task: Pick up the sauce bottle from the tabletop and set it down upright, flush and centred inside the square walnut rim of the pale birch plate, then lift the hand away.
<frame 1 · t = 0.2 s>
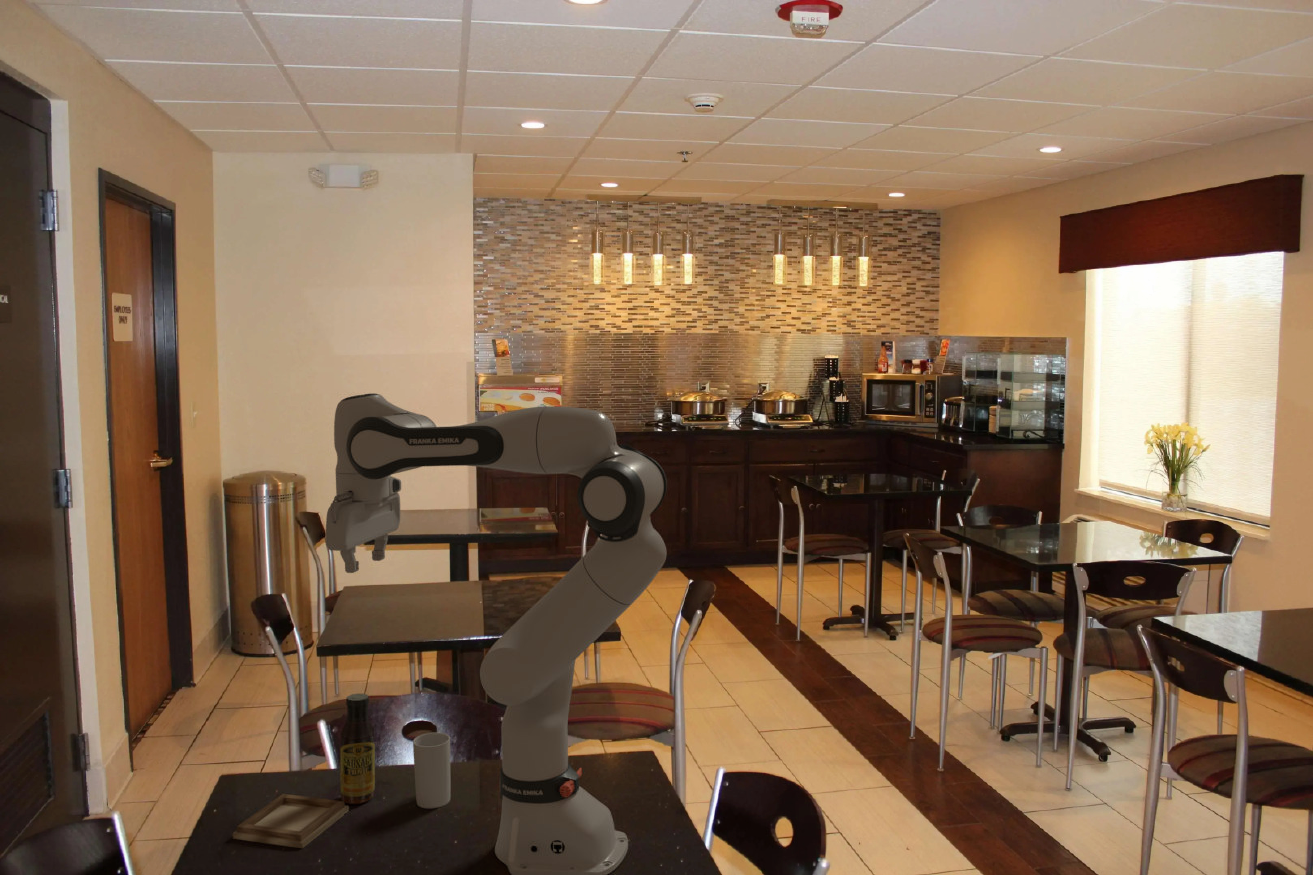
hand: (365, 565, 173), 47 cm above the table, tool pointing down, fingers open, 8 cm apart
mug: (435, 798, 188), on the table
seat plate: (292, 824, 178), on the table
sauce bottle: (359, 799, 188), on the table
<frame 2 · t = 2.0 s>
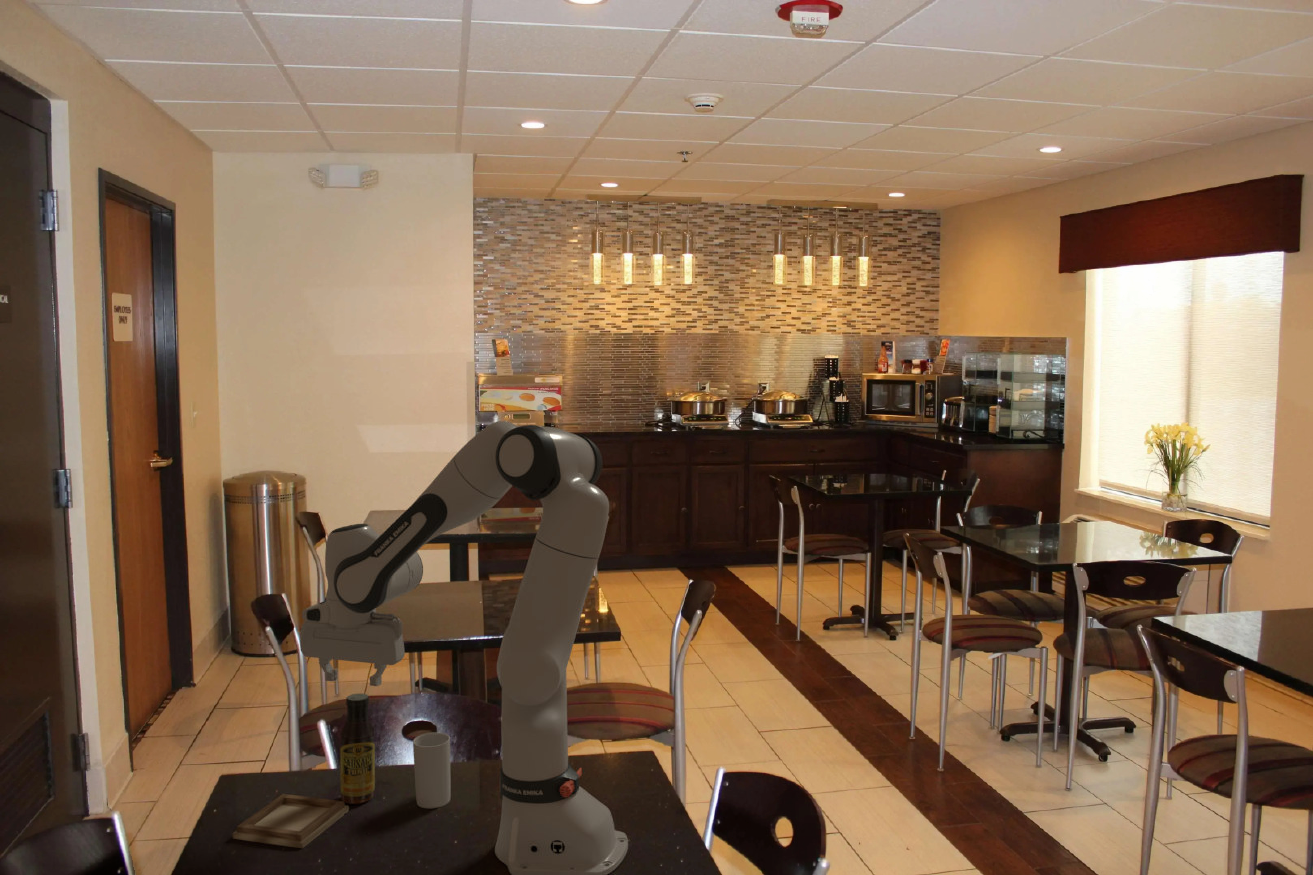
hand: (353, 682, 186), 23 cm above the table, tool pointing down, fingers open, 8 cm apart
nothing on the table moved.
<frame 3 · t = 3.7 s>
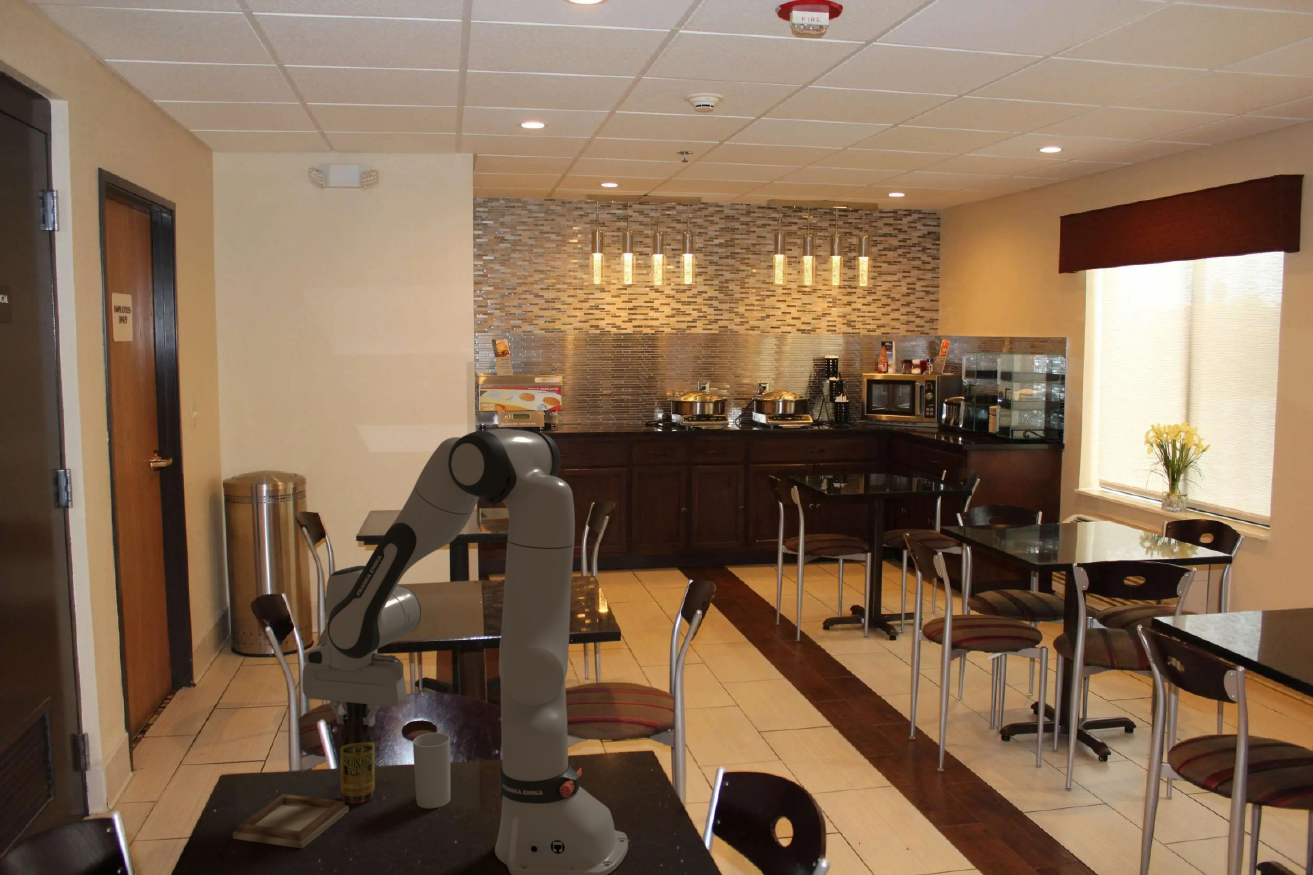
hand: (355, 723, 187), 15 cm above the table, tool pointing down, fingers closed on sauce bottle, 4 cm apart
sauce bottle: (359, 799, 188), on the table, touching gripper
everything else where it was.
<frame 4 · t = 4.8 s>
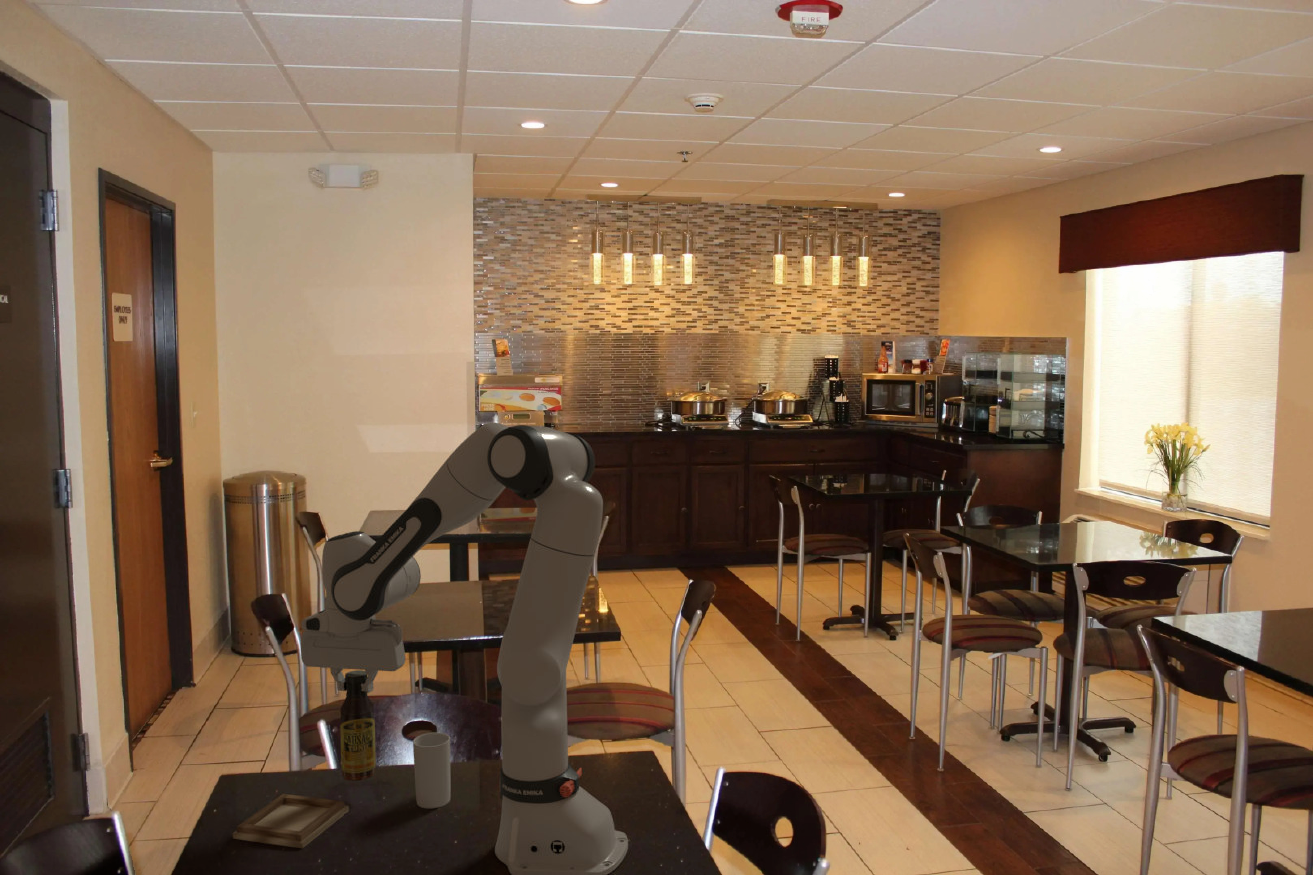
hand: (355, 690, 186), 21 cm above the table, tool pointing down, fingers closed on sauce bottle, 4 cm apart
sauce bottle: (360, 776, 188), point 4 cm above the table, touching gripper
everything else where it was.
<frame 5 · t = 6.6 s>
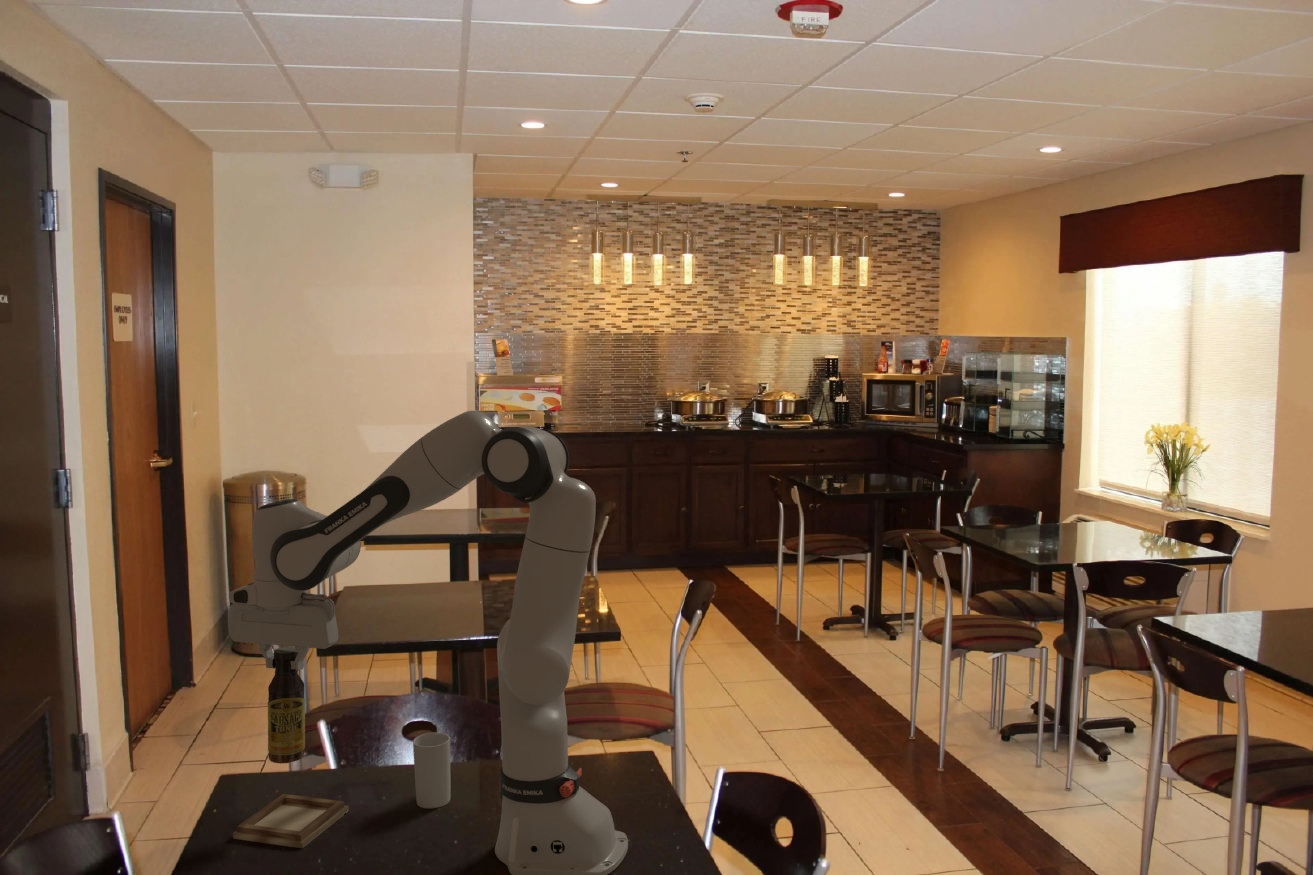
hand: (285, 668, 175), 29 cm above the table, tool pointing down, fingers closed on sauce bottle, 4 cm apart
sauce bottle: (288, 759, 177), point 12 cm above the table, touching gripper
everything else where it was.
when the fingers open (18 cm above the table, at t = 8.4 s): sauce bottle stays where it is, resting on seat plate.
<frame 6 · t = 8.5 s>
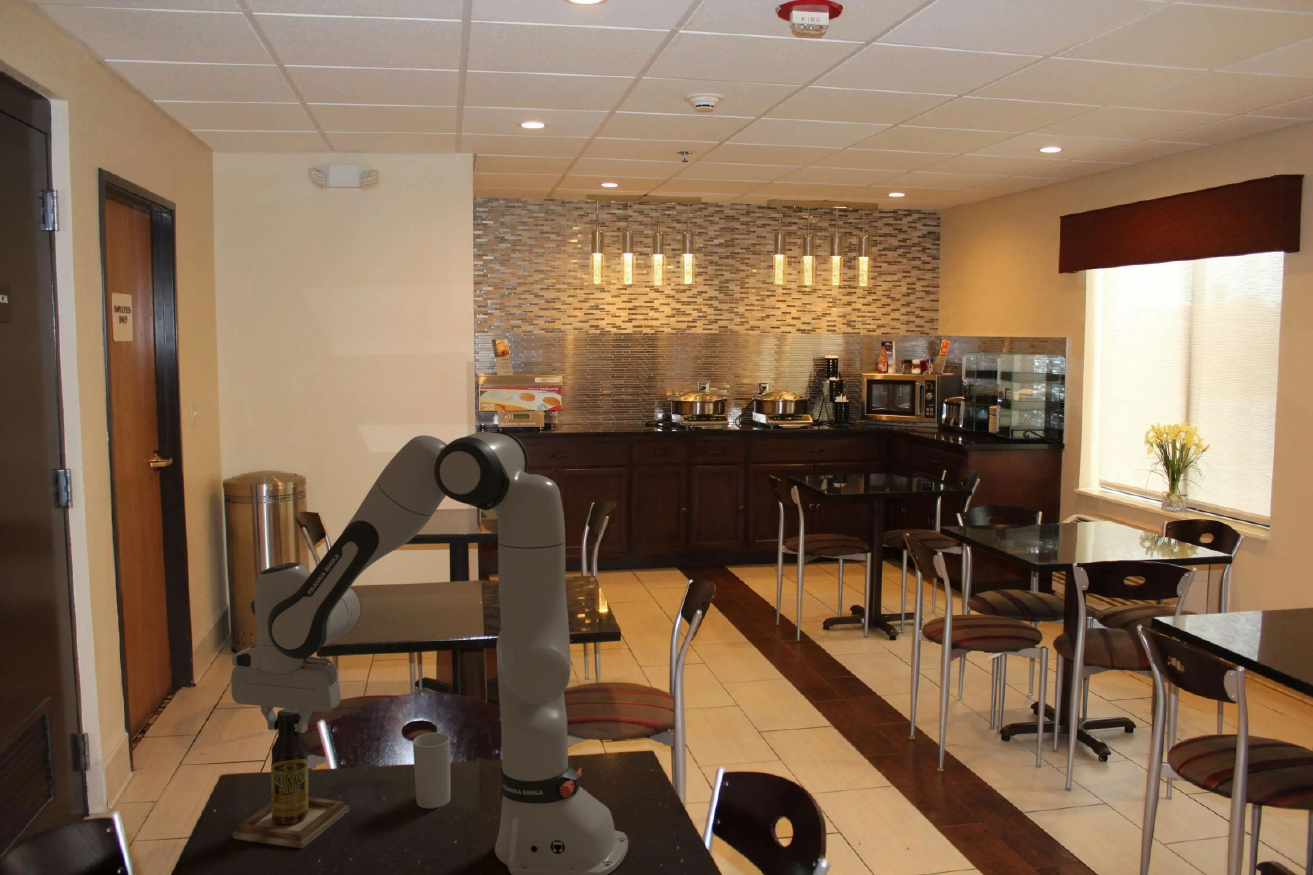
hand: (287, 730, 176), 17 cm above the table, tool pointing down, fingers open, 4 cm apart
sauce bottle: (291, 819, 178), point 1 cm above the table, touching seat plate
everything else where it was.
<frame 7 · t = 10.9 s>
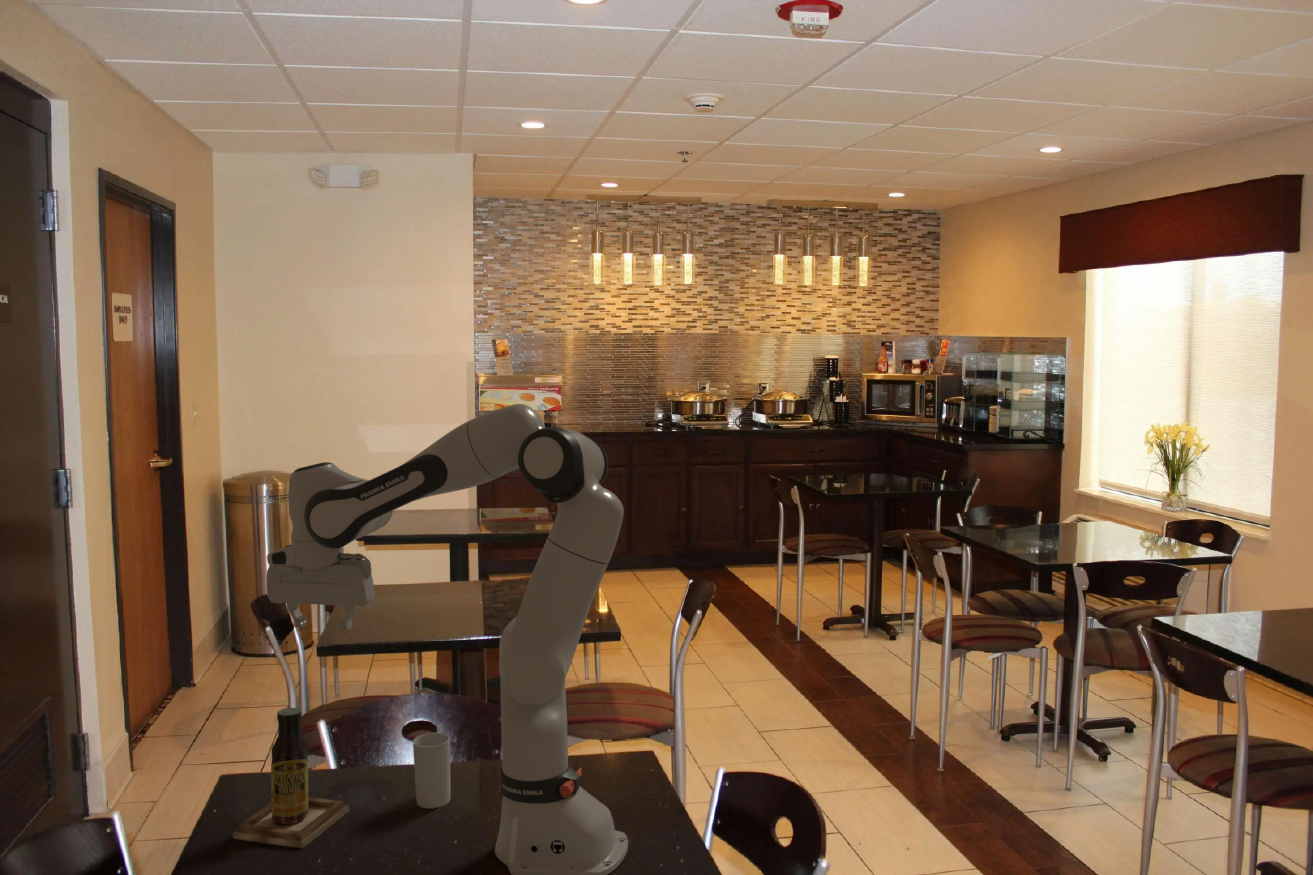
hand: (323, 627, 180), 35 cm above the table, tool pointing down, fingers open, 8 cm apart
nothing on the table moved.
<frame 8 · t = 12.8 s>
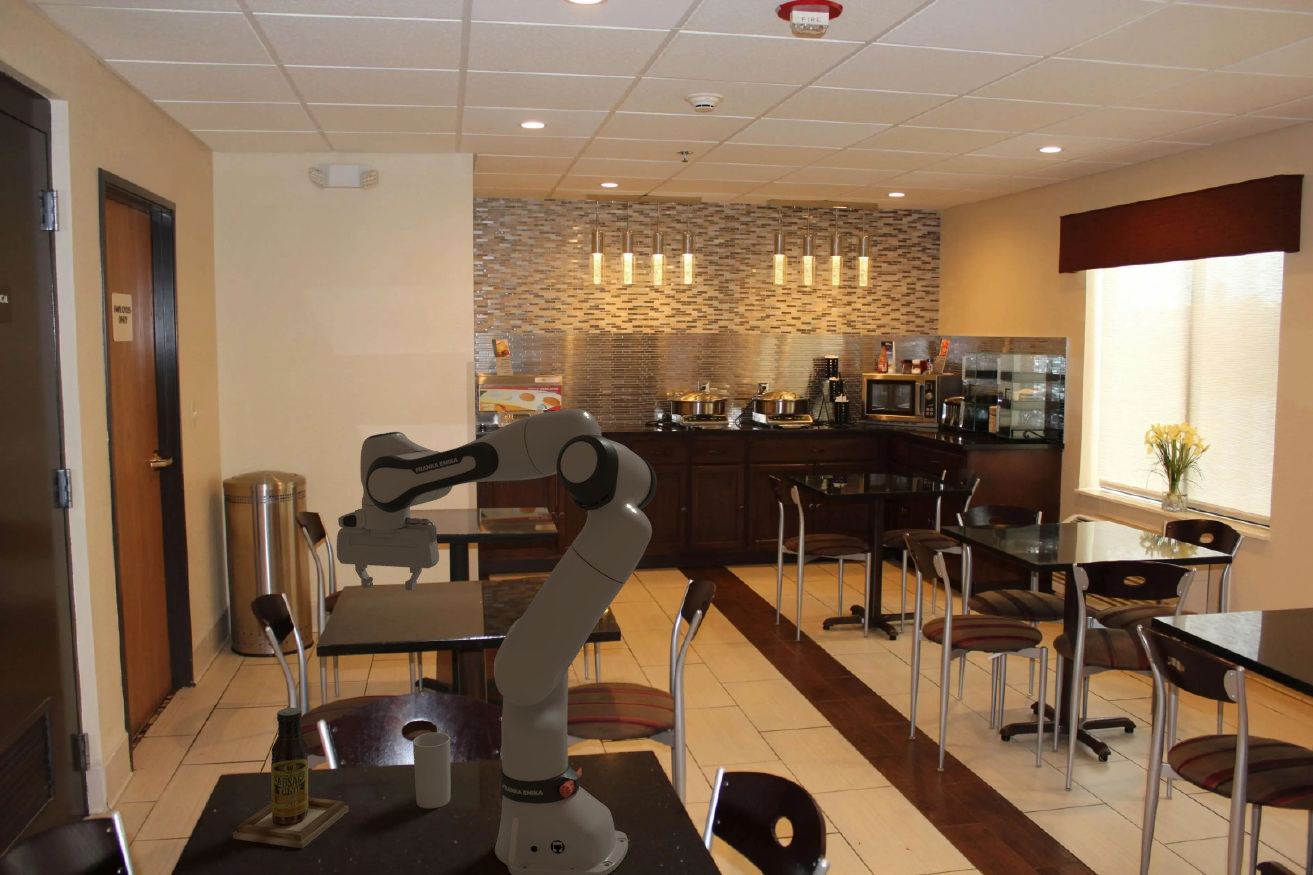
hand: (389, 588, 190), 39 cm above the table, tool pointing down, fingers open, 8 cm apart
nothing on the table moved.
at the end: sauce bottle 0.2 cm off-centre on the seat plate, point 0.8 cm above the seat plate's base; sauce bottle tilted 0°; the gripper is holding nothing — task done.
